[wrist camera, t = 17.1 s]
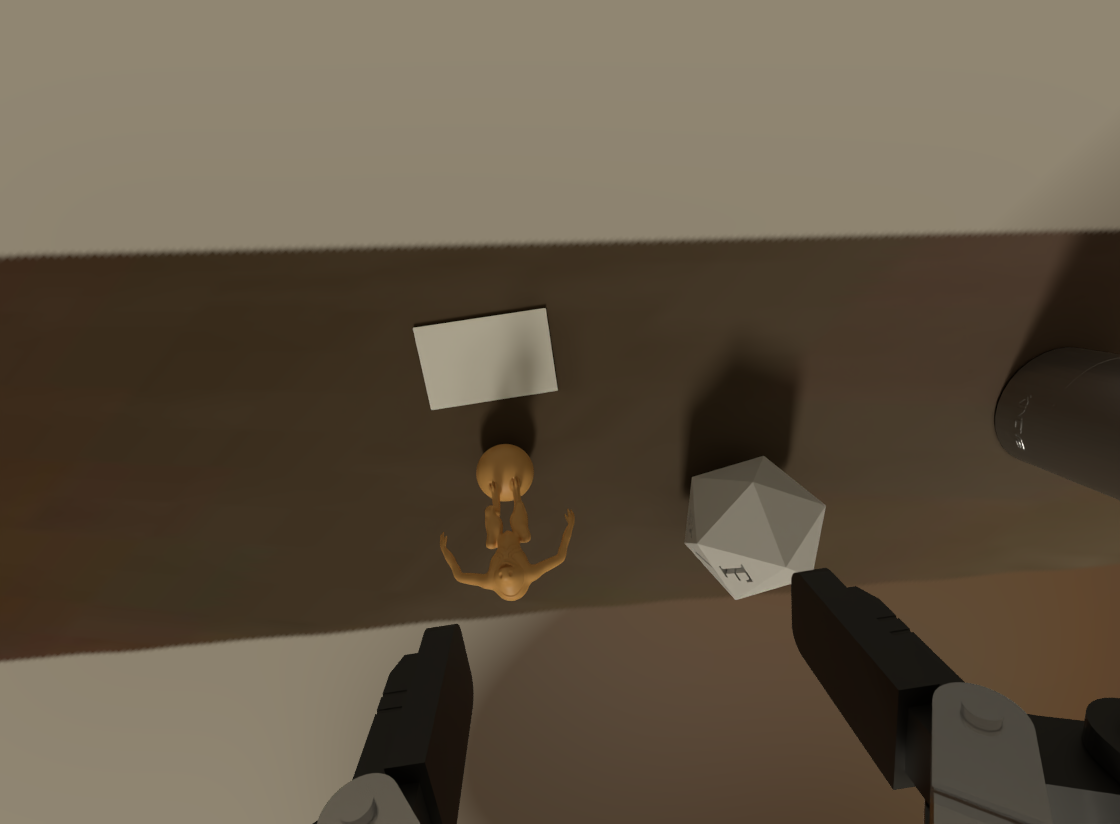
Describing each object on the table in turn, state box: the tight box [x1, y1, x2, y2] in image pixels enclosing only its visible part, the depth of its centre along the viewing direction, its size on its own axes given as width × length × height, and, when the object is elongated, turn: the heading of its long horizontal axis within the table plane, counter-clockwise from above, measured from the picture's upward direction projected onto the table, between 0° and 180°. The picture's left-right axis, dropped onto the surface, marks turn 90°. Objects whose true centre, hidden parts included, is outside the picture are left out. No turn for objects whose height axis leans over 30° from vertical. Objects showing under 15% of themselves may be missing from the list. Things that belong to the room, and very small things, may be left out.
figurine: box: [440, 444, 575, 601], centre depth 33 cm, size 8×6×12 cm
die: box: [685, 456, 826, 600], centre depth 35 cm, size 8×9×10 cm
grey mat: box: [413, 308, 558, 410], centre depth 36 cm, size 9×6×1 cm, turn 98°
